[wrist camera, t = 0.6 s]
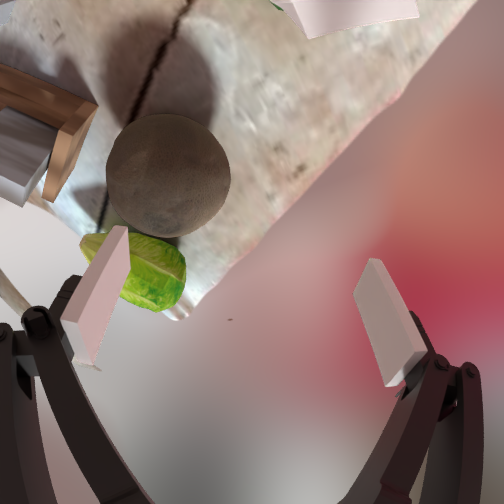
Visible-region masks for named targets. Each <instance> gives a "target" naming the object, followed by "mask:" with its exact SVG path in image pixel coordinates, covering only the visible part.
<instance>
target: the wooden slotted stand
mask: <svg viewBox="0 0 504 504" xmlns="http://www.w3.org/2000/svg"><path fill="white" fill-rule="evenodd" d="M97 109H98V106H97V105H95V104H93V103H91V102H89V101H87V100H85V99H83V98H80V97H78V96H76V95H74V94H72V93H70V92H67V91H65V90H63V89H61V88H58V87H56V86H54V85H52V84H49V83H47V82H45V81H42V80H40V79H38V78H35V77H33V76H31V75H28V74H26V73H24V72H21V71H19V70H16V69H14V68H11V67H9V66H6V65H4V64H1V63H0V197H2V198H4V199H6V200H8V201H10V202H12V203H14V204H16V205H18V206H20V207H23V206H24V204H25V202H26V201H27V199H28V198H29V196H30V194H31V193H32V191H33V190H34V188H35V187H36V185H37V184H38V182H39V181H40V179H41V178H42V176H43V175H44V173H45V172H46V170H47V169H48V171H47V175H46V180H45V184H44V189H43V194H42V198H43V199H45V200H47V201H50V202H52V203H54V201H55V199H56V197H57V196H58V194H59V192H60V190H61V189H62V187H63V185H64V184H65V182H66V180H67V179H68V177H69V176H70V174H71V172H72V171H73V169H74V167H75V164H76V161H77V159H78V156H79V153H80V150H81V148H82V145H83V142H84V140H85V137H86V135H87V132H88V130H89V127H90V125H91V122H92V120H93V118H94V115H95V113H96V111H97Z"/></svg>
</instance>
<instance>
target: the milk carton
mask: <svg viewBox="0 0 504 504" xmlns="http://www.w3.org/2000/svg"><path fill="white" fill-rule="evenodd" d="M269 1H270V2H271V3H272V4H273V5H274V6H275V7H276V8H277V9H278V10H282V11H285V12H286V14H287V15H288V16H289V17H290V18H291V19H292V20H293V21H294V22H295V24H296V25H297V26H298V27H299V28H300V29H301V31H302V32H303V33H304V34H305V35H306V37H307V38H308V39H312V38H315V37H319V36H323V35H326V34H330V33H334V32H338V31H342V30H347V29H351V28H356V27H361V26H366V25H371V24H376V23H382V22H388V21H395V20H402V19H410V18H418V17H420V15H419V11H418V7H417V3H416V0H269Z"/></svg>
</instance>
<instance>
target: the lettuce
mask: <svg viewBox="0 0 504 504" xmlns="http://www.w3.org/2000/svg"><path fill="white" fill-rule="evenodd" d="M108 234H109V233H93V234H86V235H84V236H83V238H82V240H81V242H80V244H79V246H80V249H81V251H82V253H83V254H84V256H85V258H86V260H87V262H88V263H89V265H90V263H91V262H92V260H93V258H94V257H95V255H96V253H97V252H98V250H99V248H100V247H101V245H102V244H103V242H104V240H105V239H106V237H107V236H108ZM128 240H129V255H130V267H131V269H130V272H129V274H128V276H127V278H126V281H125V283H124V285H123V288H122V290H121V293H120V295H119V296H120V297H122V298H123V299H125V300H126V301H128V302H130V303H132V304H134V305H137V306H139V307H142V308H147V309H150V310H152V311H154V312H160V311H163V310H165V309H168V308H170V307H173V306H174V305H175V304H176V303H177V301H178V300H179V298H180V297H181V295H182V292H183V290H184V287H185V282H186V263H185V257H184V256H183V255H182V254H181V253H180V251H179V250H178V249H177V248H176V247H175V246H173V245H170V244H168V243H166V242H164V241H162V240H160V239H155V238H151V237H148V236H145V235H142V234H139V233H128Z"/></svg>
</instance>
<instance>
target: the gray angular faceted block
mask: <svg viewBox="0 0 504 504" xmlns="http://www.w3.org/2000/svg"><path fill="white" fill-rule="evenodd" d="M15 1H16V0H0V26H1V25H4V24H6V23H8V20H9V17H10V15H11V12H12V9H13V7H14V4H15Z"/></svg>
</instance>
